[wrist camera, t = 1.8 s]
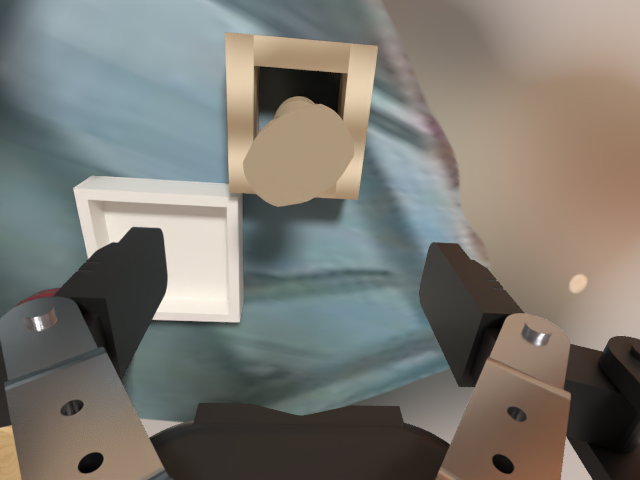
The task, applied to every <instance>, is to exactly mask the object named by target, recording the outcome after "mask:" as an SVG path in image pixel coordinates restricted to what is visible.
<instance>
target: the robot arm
mask: <svg viewBox="0 0 640 480" xmlns="http://www.w3.org/2000/svg"><path fill="white" fill-rule="evenodd" d="M167 283H168V273H167V263H166V254H165V245H164V236H163V232H162V230H161V228H150V227H132V228H131V229H130V230H129V231H128V232H127V233H126V234H125V235H124V236H123V238H122V239H121V240H120V241H119V242H118V243H117V242H112V243H110V244H108V245H106V246H104V247H102V248H100V249H98V250H97V251H95V252H94V254H93V255H92V256H91V257H90V258H89V259H88V260H87V262H86V263H84V264H83V265H82V266H81V267H80V268H79V269H78V272H75V274H74V275H73V276H72V277H71V278H70V279H69V280H68V281H67V282H66V283H65V284H64V285H63V286H62V287H61V288H60V289H59V290H58V291H57V292H56V293H55V295H54V296H53V297H44V298H39V299H34V300H31V301H28V302H25V303H23V304H20V305H18V306H16V307H14V308H13V309H11V310H10V311H8V312H7V313H6V314H5V315H4V316H3V317H2V318H1V319H0V428H2V427H6V426H10V425H12V430H13V436H14V441H15V447H16V452H17V458H18V463H19V468H20V474H21V479H22V480H561V472H562V464H563V456H564V447H565V440H566V436H567V438H568V440H569V442H570V443H571V445H572V446H573V448H574V450H575V451H576V453H577V455H578V456H579V458H580V460H581V461H582V463H583V465H584V466H585V468H586V470H587V471H588V473H589V474H590V476H591V477H592V479H593V480H640V340H639V339H636V338H631V337H626V336H616V337H613V338H611V339H610V340H609V341H608V343H607V345H606V347H605V349H604V351H603V352H602V351H598V350H594V349H589V348H585V347H581V346H577V345H573V344H570V340H569V338H568V336H567V335H566V334H565V332H564V331H563V330H562V329H561V328H559V327H558V326H556V325H555V324H553V323H552V322H550V321H548V320H546V319H543V318H541V317H538V316H535V315H531V314H525V313H524V312H523V311H522V310H521V309H520V307H519V306H518V305H517V304H516V302H515V301H514V300H513V299H512V298H511V297H510V295H509V294H508V293H507V292H506V291H505V290H503V287H502V286H501V285H500V283H499V282H498V281H496V278H495V277H494V276H493V275H492V273H491V272H490V271H489V270H488V269H487V268H485V267H484V266H482V265H481V264H479V263H478V262H476V261H475V260H471V259H470V258H469V257H468V256H467V254H466V253H465V252H464V251H463V249H462V248H461V247H460V245H459V244H455V243H435V242H433V243H432V244H431V245H430V247H429V250H428V254H427V258H426V262H425V266H424V271H423V275H422V279H421V284H420V290H419V297H420V303H421V306H422V308H423V311H424V313H425V315H426V317H427V319H428V321H429V323H430V326H431V328H432V330H433V332H434V334H435V336H436V338H437V341H438V343H439V345H440V347H441V349H442V351H443V354H444V356H445V358H446V360H447V362H448V364H449V366H450V369H451V370H452V373H453V375H454V377H455V379H456V381H457V384H458V386H459V387H475V389H474V391H473V393H472V395H471V398H470V400H469V403H468V405H467V407H466V410H465V412H464V414H463V416H462V419H461V421H460V423H459V426H458V428H457V430H456V433H455V435H454V437H453V440H452V442H451V444H448V443H447V442H446V441H444V440H442V439H441V438H439V437H437V436H436V435H434V434H432V433H430V432H428V431H426V430H424V429H421V428H419V427H416V426H413V425H410V424H407V423H404V422H403V418H402V414H401V411H400V407H399V406H353V405H352V406H347V407H342V408H338V409H333V410H328V411H324V412H319V413H314V414H310V415H304V416H299V415H294V414H290V413H285V412H281V411H277V410H273V409H269V408H265V407H260V406H256V405H252V404H221V403H199V405H198V408H197V412H196V416H195V420H192V421H188V422H184V423H181V424H178V425H175V426H172V427H170V428H168V429H165V430H163V431H161V432H159V433H157V434H155V435H153V436H152V437H150V438H149V437H148V435H147V433H146V431H145V429H144V427H143V425H142V423H141V421H140V419H139V417H138V415H137V413H136V411H135V409H134V407H133V405H132V403H131V401H130V399H129V397H128V395H127V393H126V390H125V388H124V386H123V384H122V382H121V380H120V379H122V377H123V375H124V373H125V371H126V369H127V367H128V365H129V363H130V361H131V360H132V358H133V356H134V354H135V352H136V350H137V348H138V346H139V344H140V342H141V340H142V338H143V336H144V334H145V332H146V331H147V329H148V327H149V325H150V323H151V321H152V319H153V317H154V315H155V313H156V311H157V309H158V307H159V305H160V304H161V302H162V300H163V298H164V296H165V293H166V290H167Z"/></svg>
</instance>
